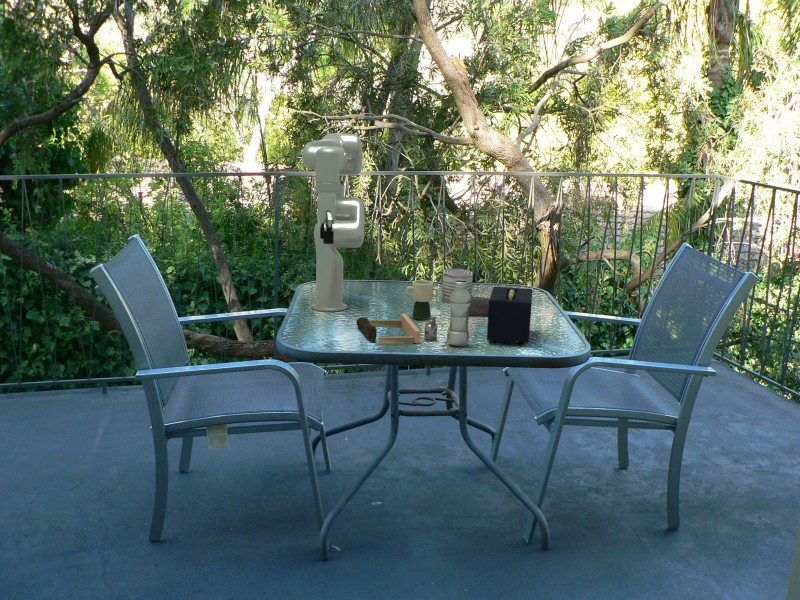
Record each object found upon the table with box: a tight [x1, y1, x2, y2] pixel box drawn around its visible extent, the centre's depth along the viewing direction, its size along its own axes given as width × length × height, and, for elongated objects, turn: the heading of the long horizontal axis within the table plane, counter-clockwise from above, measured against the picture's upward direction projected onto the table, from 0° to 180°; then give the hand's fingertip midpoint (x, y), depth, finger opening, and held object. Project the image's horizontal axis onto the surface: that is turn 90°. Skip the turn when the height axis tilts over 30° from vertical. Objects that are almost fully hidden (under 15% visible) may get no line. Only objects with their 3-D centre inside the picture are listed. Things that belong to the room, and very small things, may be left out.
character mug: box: [406, 279, 439, 320], centre depth 287 cm, size 11×7×13 cm, turn 88°
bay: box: [368, 319, 415, 345], centre depth 266 cm, size 23×11×2 cm, turn 11°
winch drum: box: [423, 316, 439, 342], centre depth 260 cm, size 6×4×8 cm, turn 11°
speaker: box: [486, 286, 533, 346], centre depth 266 cm, size 22×13×15 cm, turn 170°
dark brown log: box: [356, 316, 378, 344], centre depth 264 cm, size 19×4×5 cm, turn 12°
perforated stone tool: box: [469, 295, 490, 317], centre depth 296 cm, size 15×5×7 cm, turn 91°
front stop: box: [400, 313, 421, 345], centre depth 267 cm, size 23×2×4 cm, turn 11°
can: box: [441, 268, 474, 305], centre depth 315 cm, size 11×11×12 cm
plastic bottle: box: [446, 280, 471, 347], centre depth 255 cm, size 6×7×20 cm
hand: (326, 241), depth 269 cm, fingers open, 9 cm apart
